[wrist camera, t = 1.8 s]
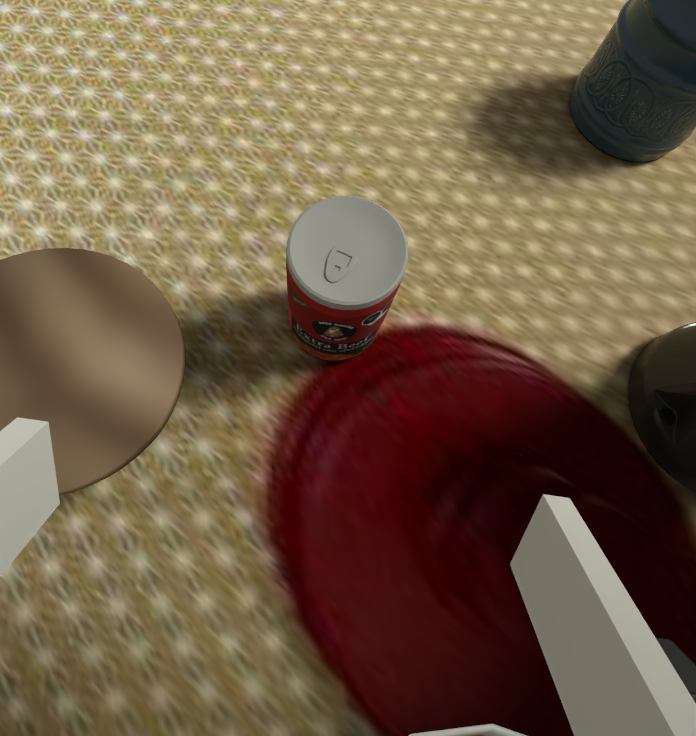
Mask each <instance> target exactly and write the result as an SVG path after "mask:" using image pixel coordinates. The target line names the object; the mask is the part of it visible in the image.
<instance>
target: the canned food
mask: <svg viewBox="0 0 696 736" xmlns="http://www.w3.org/2000/svg"><path fill="white" fill-rule="evenodd" d="M407 261H408V243H407V239H406V236H405V233H404V231H403V229H402V227H401V225H400V223H399V222H398V221H397V219H396V218H395V217H394V216H393V215H392V214H391V213H390V212H389V211H388V210H386V209H385V208H384V207H382V206H381V205H379V204H377V203H375V202H373V201H371V200H368V199H365V198H362V197H356V196H336V197H330V198H327V199H324V200H321V201H318V202H317V203H315V204H313V205H312V206H310V207H308V208H307V209H306V210H305V211H304V212H303V213H302V214H301V215H300V216H299V217H298V219H297V220H296V221H295V223H294V224H293V226H292V229H291V231H290V233H289V238H288V242H287V248H286V269H287V290H288V311H289V324H290V328H291V331H292V333H293V336H294V338H295V339H296V341H297V342H298V343H299V345H300V346H301V347H302V348H304V349H305V350H306V351H307V352H308V353H310V354H312V355H313V356H315V357H317V358H320V359H323V360H329V361H341V360H345V359H349V358H352V357H354V356H356V355H358V354H360V353H361V352H363V351H364V350H366V349H367V348H368V347H369V346H370V344H371V343H372V342H373V341H374V339H375V337H376V336H377V334H378V332H379V329H380V327H381V325H382V323H383V321H384V319H385V316H386V314H387V312H388V310H389V308H390V306H391V303H392V301H393V299H394V297H395V295H396V293H397V290H398V288H399V286H400V283H401V281H402V278H403V276H404V273H405V270H406V265H407Z"/></svg>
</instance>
